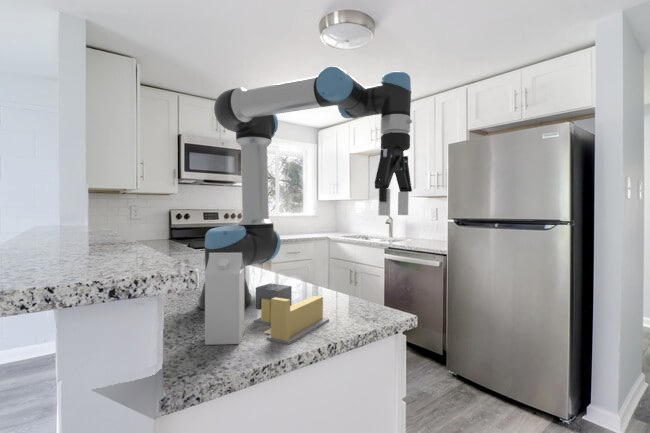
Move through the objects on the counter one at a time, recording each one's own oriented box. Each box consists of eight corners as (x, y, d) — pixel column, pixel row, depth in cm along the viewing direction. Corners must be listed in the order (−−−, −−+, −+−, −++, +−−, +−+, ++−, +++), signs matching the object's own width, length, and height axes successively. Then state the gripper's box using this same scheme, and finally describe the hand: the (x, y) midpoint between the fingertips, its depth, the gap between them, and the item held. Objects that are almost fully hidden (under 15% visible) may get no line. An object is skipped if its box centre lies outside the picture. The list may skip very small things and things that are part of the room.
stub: (253, 322, 86) (253, 298, 86) (274, 313, 94) (275, 291, 94) (272, 326, 83) (272, 302, 83) (293, 316, 91) (293, 294, 91)
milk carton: (212, 333, 79) (213, 250, 78) (244, 332, 79) (244, 250, 79) (204, 345, 71) (204, 254, 71) (239, 344, 72) (239, 254, 72)
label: (263, 332, 79) (263, 331, 79) (279, 325, 84) (279, 324, 84) (274, 335, 78) (274, 334, 78) (289, 327, 83) (289, 326, 83)
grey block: (255, 308, 88) (255, 287, 88) (270, 303, 93) (270, 283, 93) (277, 312, 84) (277, 290, 84) (291, 307, 90) (291, 286, 90)
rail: (266, 339, 75) (266, 298, 75) (309, 317, 91) (309, 283, 91) (289, 344, 72) (289, 302, 72) (329, 320, 88) (329, 286, 88)
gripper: (391, 121, 77) (389, 215, 78) (423, 141, 98) (422, 215, 99) (361, 125, 81) (360, 215, 82) (398, 143, 102) (397, 214, 103)
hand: (394, 215), depth 90 cm, fingers open, 13 cm apart
